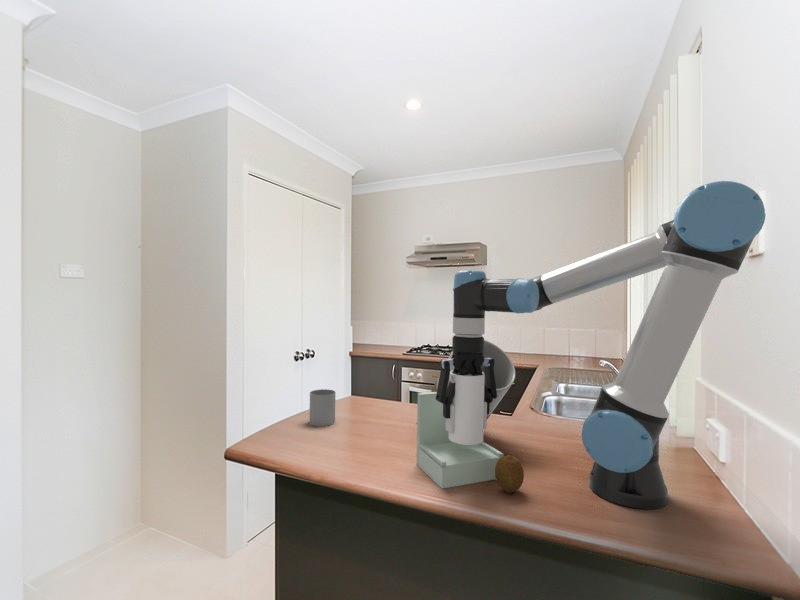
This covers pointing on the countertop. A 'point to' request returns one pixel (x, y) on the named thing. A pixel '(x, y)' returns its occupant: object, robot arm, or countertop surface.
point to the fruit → (509, 473)
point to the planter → (502, 372)
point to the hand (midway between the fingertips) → (466, 429)
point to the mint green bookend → (449, 449)
